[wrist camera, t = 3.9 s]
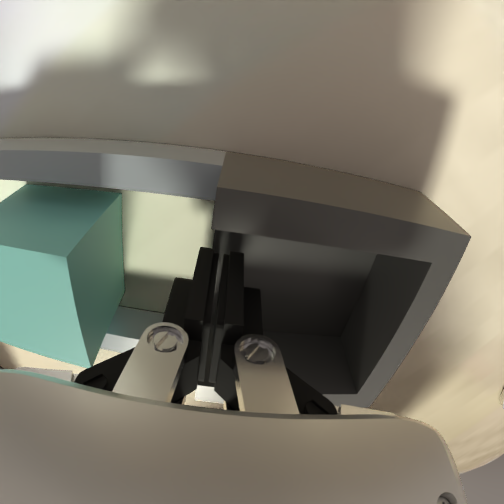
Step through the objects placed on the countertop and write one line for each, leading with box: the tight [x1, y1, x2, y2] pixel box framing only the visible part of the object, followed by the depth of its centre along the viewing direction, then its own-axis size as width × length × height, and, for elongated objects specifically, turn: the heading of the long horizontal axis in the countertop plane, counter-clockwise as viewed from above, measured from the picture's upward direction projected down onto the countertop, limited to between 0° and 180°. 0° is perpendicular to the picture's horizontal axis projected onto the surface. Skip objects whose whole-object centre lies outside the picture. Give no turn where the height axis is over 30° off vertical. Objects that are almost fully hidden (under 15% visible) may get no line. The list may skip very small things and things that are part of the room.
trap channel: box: [0, 138, 471, 408], centre depth 12 cm, size 19×9×4 cm, turn 80°
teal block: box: [0, 184, 125, 368], centre depth 11 cm, size 5×5×5 cm
